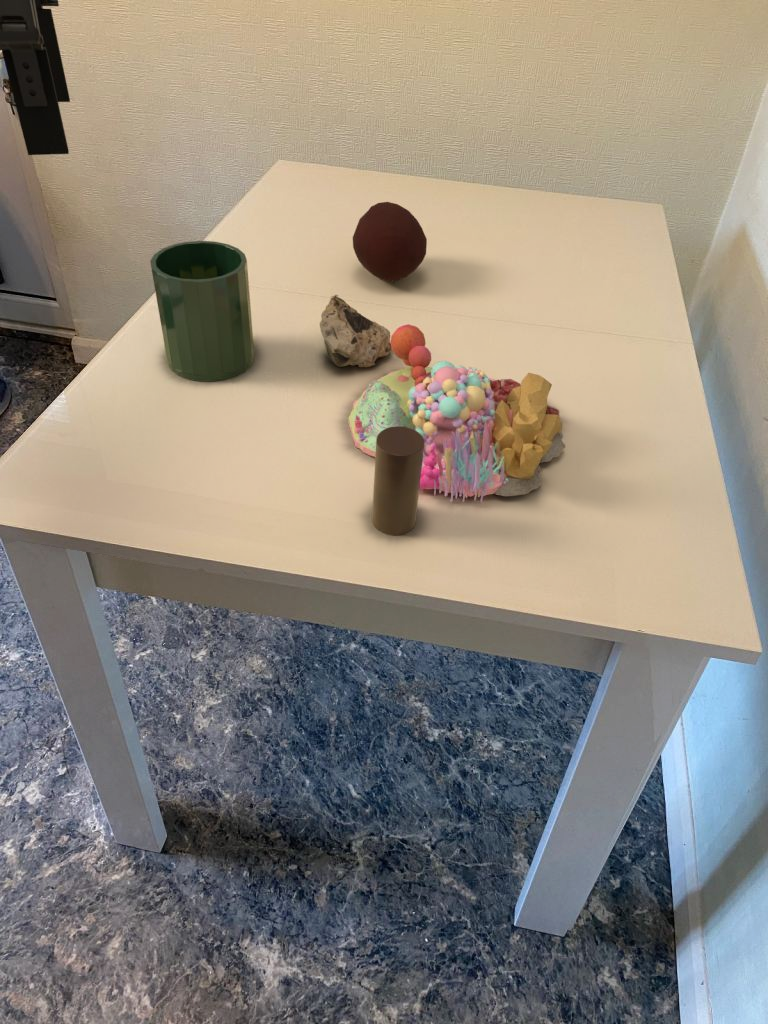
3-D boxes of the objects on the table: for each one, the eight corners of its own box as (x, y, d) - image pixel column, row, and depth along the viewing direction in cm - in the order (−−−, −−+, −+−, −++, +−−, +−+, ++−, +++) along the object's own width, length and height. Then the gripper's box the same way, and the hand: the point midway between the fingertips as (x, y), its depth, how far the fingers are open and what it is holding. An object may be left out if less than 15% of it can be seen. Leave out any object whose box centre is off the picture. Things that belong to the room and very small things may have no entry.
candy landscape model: (569, 398, 91) (587, 331, 85) (555, 524, 74) (576, 453, 68) (375, 363, 95) (378, 297, 89) (319, 476, 78) (318, 404, 72)
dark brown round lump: (352, 296, 108) (354, 226, 101) (350, 257, 118) (352, 191, 111) (427, 298, 109) (434, 228, 102) (419, 259, 118) (425, 193, 111)
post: (378, 538, 72) (384, 458, 65) (366, 508, 75) (370, 429, 68) (421, 531, 73) (431, 451, 66) (407, 502, 76) (415, 423, 69)
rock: (351, 317, 100) (307, 293, 92) (397, 308, 97) (355, 282, 88) (349, 380, 100) (305, 362, 91) (396, 374, 96) (353, 354, 87)
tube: (171, 386, 89) (153, 285, 80) (164, 341, 96) (147, 244, 87) (260, 376, 91) (253, 277, 83) (246, 332, 99) (239, 237, 90)
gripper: (18, -279, 36) (105, 178, 50) (37, -250, 53) (98, 83, 67) (-159, -297, 34) (-15, 182, 48) (-79, -261, 51) (9, 84, 65)
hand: (51, 125), depth 58 cm, fingers open, 13 cm apart
